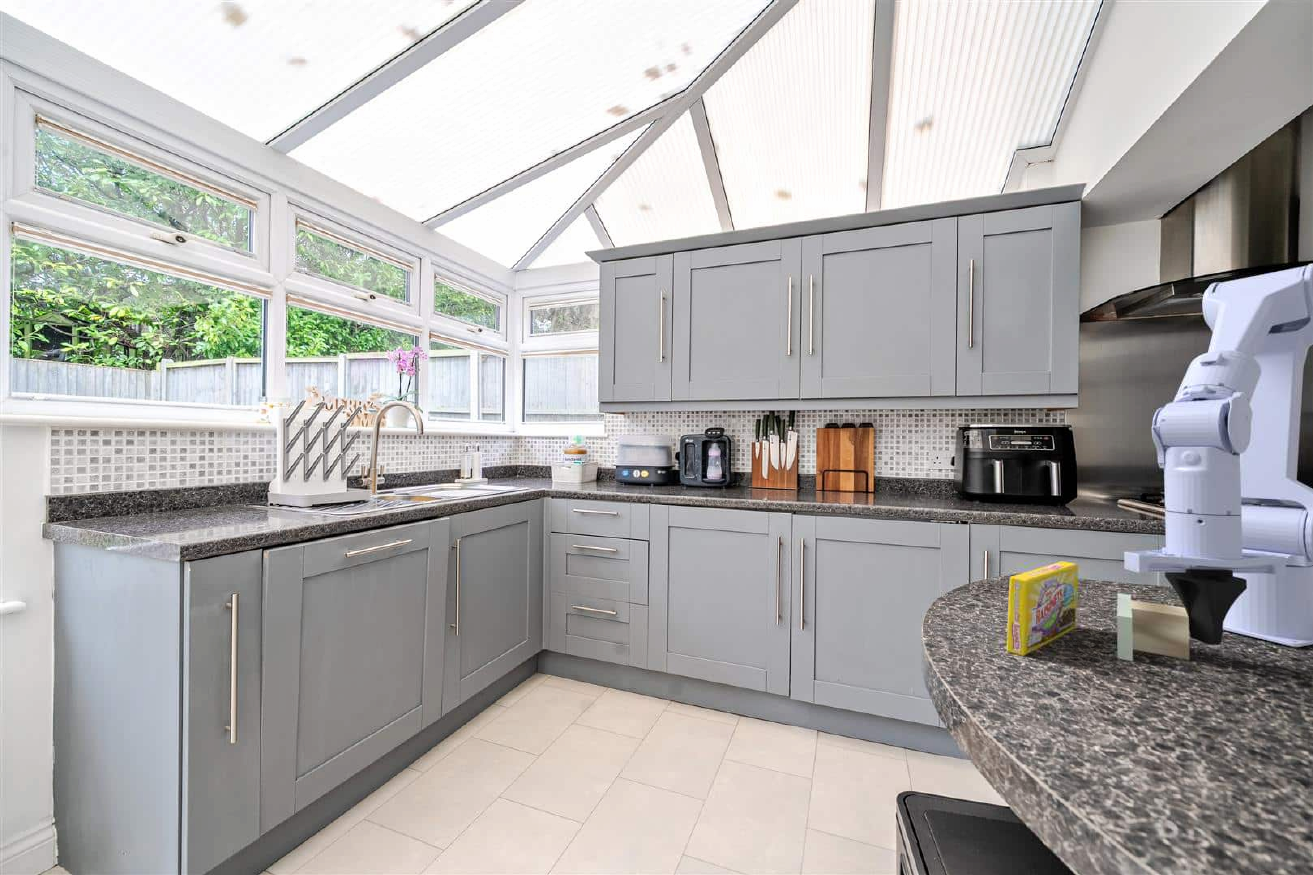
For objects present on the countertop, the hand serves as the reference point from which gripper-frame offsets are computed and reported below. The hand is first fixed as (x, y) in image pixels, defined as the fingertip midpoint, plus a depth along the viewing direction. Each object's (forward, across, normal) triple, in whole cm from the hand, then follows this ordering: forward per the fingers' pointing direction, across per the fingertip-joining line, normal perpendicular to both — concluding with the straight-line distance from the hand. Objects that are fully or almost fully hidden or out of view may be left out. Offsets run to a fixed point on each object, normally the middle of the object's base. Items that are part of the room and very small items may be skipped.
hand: (1204, 641), depth 57 cm
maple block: (+2, +2, -3) cm, 4 cm away
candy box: (+2, +13, -5) cm, 14 cm away
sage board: (+2, +5, -4) cm, 7 cm away
